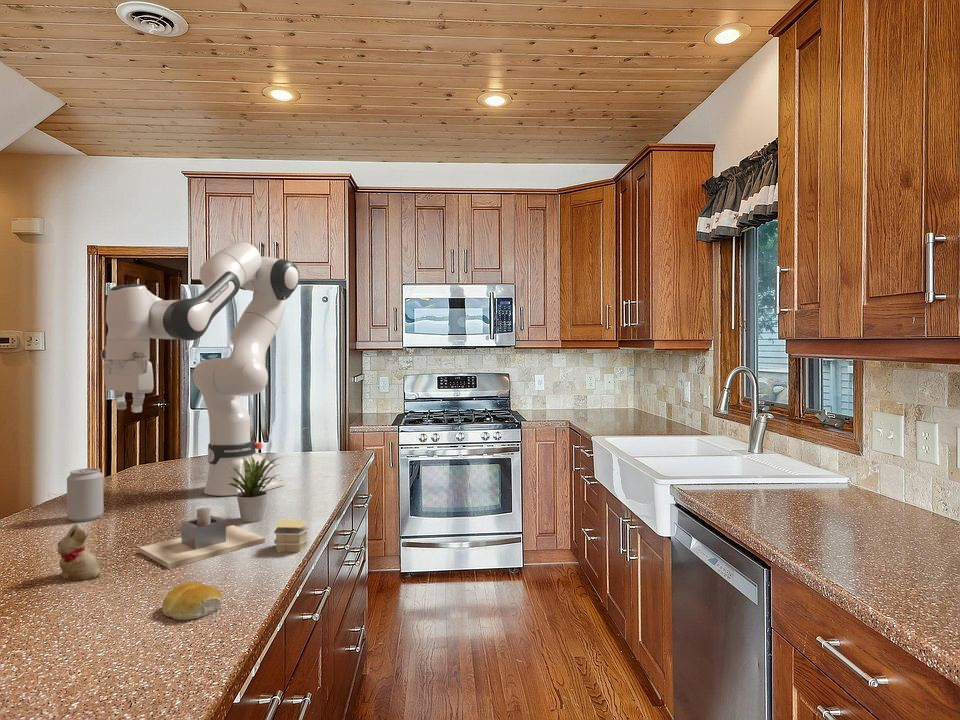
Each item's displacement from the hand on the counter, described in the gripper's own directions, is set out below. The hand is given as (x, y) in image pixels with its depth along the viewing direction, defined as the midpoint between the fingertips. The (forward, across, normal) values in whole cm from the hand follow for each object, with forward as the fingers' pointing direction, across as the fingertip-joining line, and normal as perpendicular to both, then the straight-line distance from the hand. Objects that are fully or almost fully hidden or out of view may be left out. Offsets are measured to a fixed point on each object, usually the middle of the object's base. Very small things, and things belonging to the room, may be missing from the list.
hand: (128, 410), depth 140 cm
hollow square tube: (+26, -29, -4) cm, 39 cm away
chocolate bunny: (+27, -27, +18) cm, 42 cm away
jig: (+27, -29, -4) cm, 40 cm away
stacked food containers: (+28, -43, -16) cm, 54 cm away
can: (+27, +14, +5) cm, 31 cm away
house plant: (+27, -19, -22) cm, 40 cm away
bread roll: (+28, -57, +11) cm, 64 cm away
